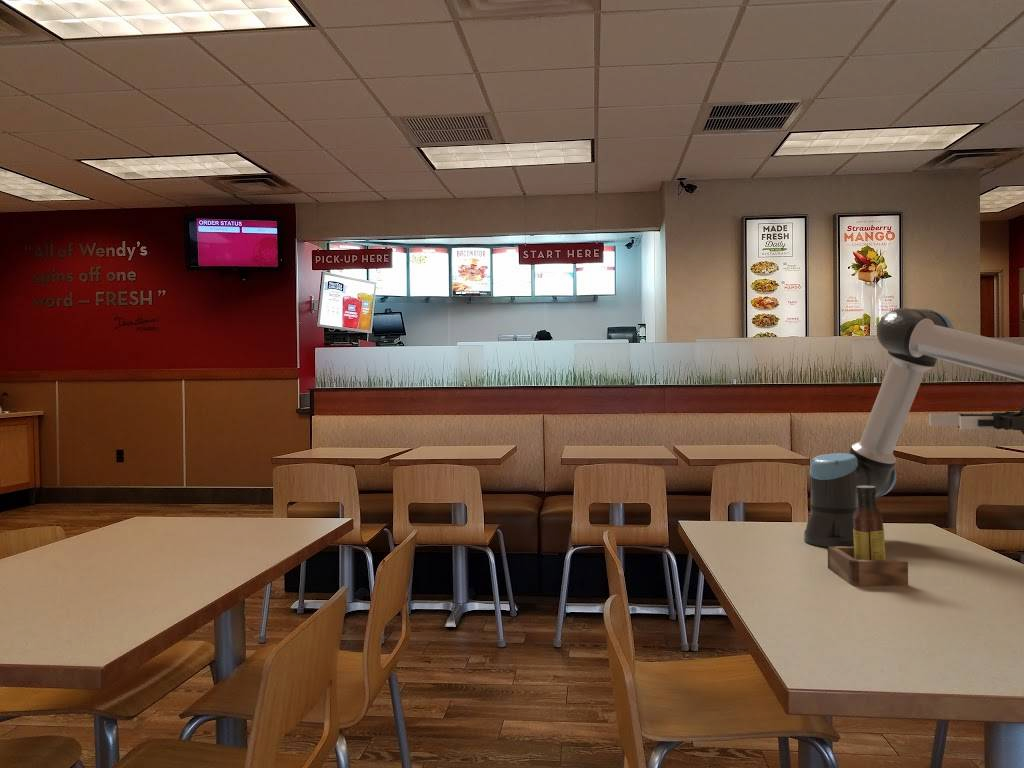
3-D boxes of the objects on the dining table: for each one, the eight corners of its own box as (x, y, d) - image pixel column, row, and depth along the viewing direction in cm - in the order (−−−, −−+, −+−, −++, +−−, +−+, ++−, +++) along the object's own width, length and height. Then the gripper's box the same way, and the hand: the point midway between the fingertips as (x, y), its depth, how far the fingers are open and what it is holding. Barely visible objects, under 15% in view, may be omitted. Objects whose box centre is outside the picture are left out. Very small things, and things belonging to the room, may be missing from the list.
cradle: (879, 568, 175) (879, 546, 175) (908, 585, 160) (907, 561, 160) (827, 568, 176) (827, 546, 176) (851, 585, 161) (851, 561, 161)
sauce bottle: (885, 574, 169) (884, 485, 169) (886, 581, 163) (885, 488, 163) (853, 571, 172) (852, 483, 172) (853, 578, 166) (852, 487, 166)
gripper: (1084, 442, 153) (974, 442, 155) (1012, 434, 178) (918, 434, 180) (1084, 404, 153) (974, 405, 155) (1012, 402, 178) (918, 403, 180)
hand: (944, 421), depth 168 cm, fingers open, 13 cm apart
